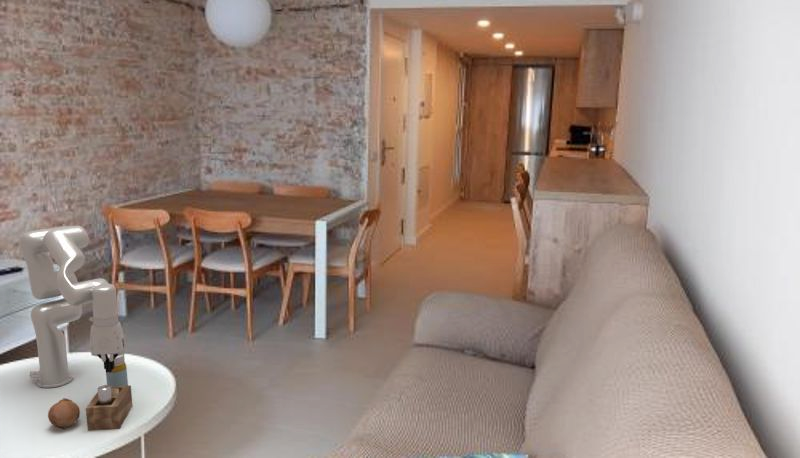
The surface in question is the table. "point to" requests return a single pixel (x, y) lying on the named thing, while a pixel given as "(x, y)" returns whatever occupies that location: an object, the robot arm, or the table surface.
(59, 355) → the robot arm
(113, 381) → the bottle
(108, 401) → the peg metal
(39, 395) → the table surface
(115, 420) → the socket block
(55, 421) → the onion
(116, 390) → the peg birch
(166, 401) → the table surface
